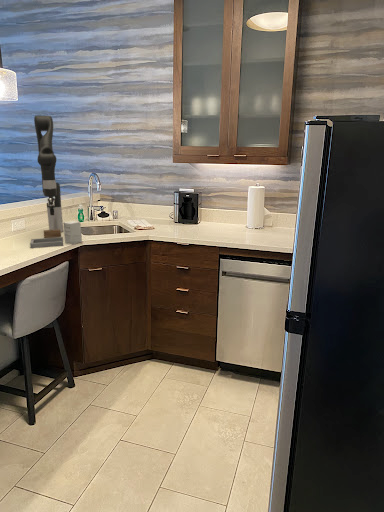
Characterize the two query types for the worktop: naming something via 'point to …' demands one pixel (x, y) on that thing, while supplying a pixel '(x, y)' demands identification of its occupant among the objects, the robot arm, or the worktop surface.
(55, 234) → the walnut block
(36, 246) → the tray
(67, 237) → the supplement box
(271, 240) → the worktop surface
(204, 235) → the worktop surface
